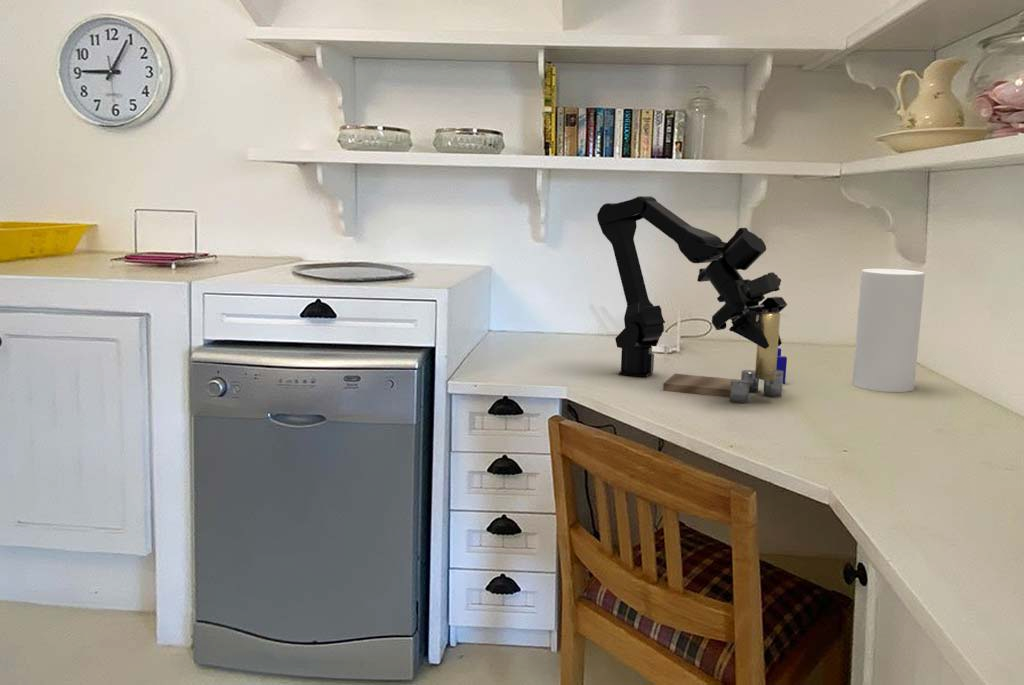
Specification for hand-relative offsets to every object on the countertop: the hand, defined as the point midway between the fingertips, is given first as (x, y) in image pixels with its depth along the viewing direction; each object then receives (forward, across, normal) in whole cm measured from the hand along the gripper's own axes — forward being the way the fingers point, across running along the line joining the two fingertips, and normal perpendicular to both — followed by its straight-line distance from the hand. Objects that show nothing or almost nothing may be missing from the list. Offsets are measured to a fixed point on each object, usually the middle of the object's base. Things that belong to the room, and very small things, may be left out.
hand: (773, 346), depth 181 cm
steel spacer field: (+4, +3, +12) cm, 13 cm away
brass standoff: (+4, 0, +6) cm, 7 cm away
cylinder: (+13, +34, +3) cm, 36 cm away
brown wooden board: (-3, 0, +20) cm, 20 cm away
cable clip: (-1, +21, +18) cm, 28 cm away
